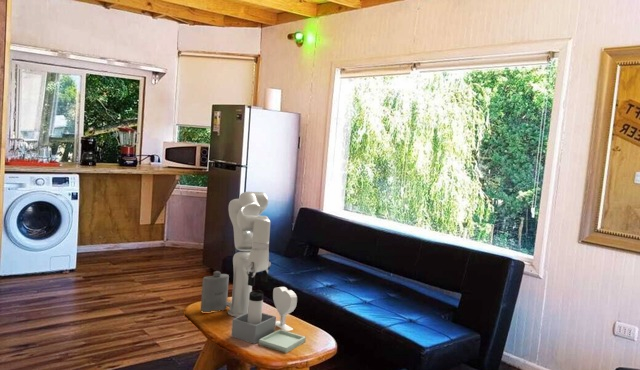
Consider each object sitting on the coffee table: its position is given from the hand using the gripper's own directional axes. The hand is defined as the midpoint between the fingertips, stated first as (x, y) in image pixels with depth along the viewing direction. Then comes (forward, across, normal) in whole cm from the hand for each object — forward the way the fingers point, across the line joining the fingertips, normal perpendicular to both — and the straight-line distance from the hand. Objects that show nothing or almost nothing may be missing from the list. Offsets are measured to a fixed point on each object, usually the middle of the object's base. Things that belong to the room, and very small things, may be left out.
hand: (257, 283), depth 225 cm
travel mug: (+24, 0, -1) cm, 24 cm away
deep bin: (+24, 0, -1) cm, 24 cm away
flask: (+24, -14, -35) cm, 45 cm away
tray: (+24, -2, +14) cm, 28 cm away
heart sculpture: (+24, -19, +3) cm, 31 cm away
